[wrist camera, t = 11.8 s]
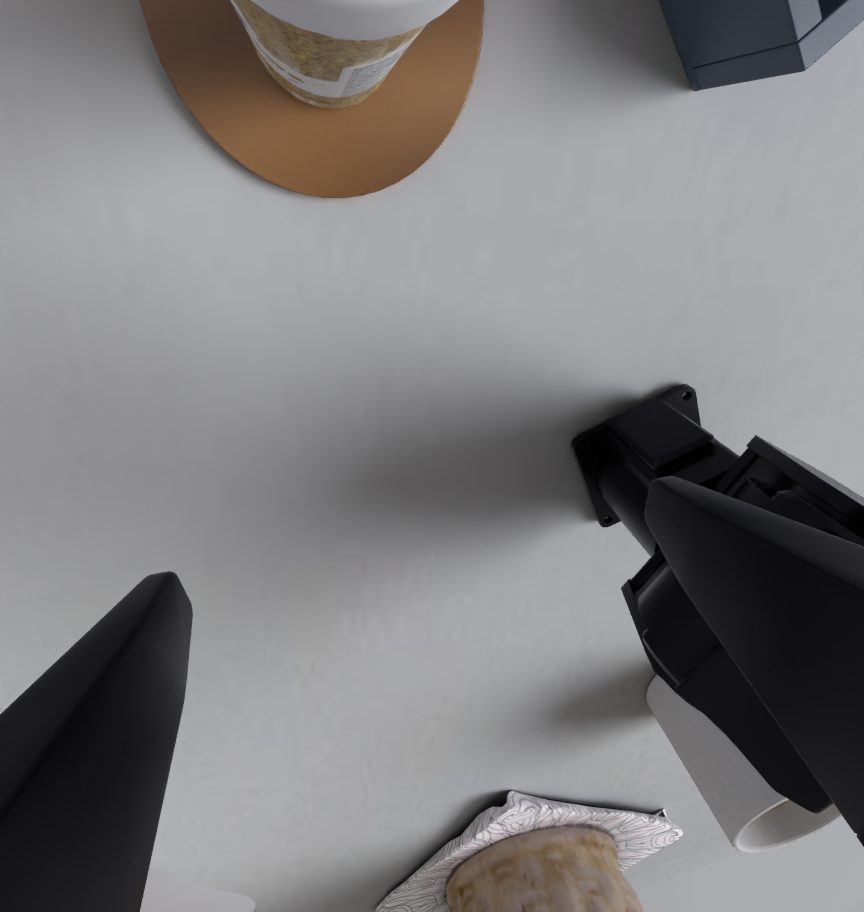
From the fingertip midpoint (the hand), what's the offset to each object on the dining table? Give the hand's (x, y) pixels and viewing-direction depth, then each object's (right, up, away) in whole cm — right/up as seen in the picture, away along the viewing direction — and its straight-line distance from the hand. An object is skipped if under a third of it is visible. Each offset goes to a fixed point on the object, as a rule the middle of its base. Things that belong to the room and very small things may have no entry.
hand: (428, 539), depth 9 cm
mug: (+22, -16, +31) cm, 41 cm away
